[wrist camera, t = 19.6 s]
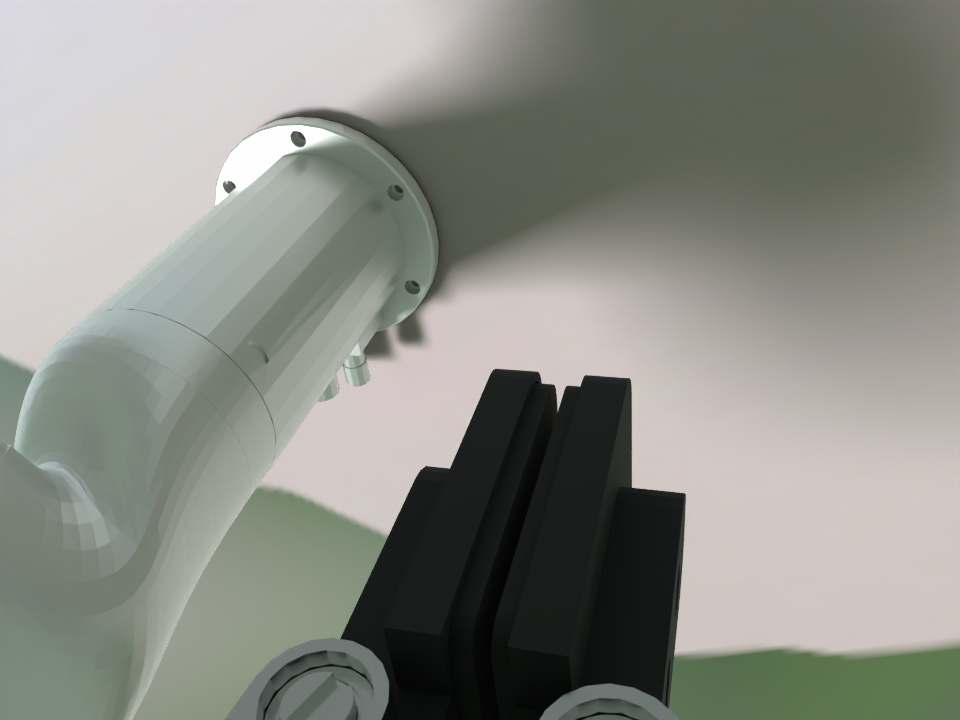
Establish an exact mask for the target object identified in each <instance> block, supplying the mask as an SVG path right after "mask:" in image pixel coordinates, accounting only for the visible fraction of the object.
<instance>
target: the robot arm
mask: <svg viewBox="0 0 960 720" xmlns="http://www.w3.org/2000/svg"><path fill="white" fill-rule="evenodd" d="M400 187H401V188H402V189H401V188H400ZM215 205H216V206H214V207H213V208H212V209H211V210H210V211H209V212H207V213H206V214H205V215H204V216H203V217H202V218H200V219H199V220H198V221H197V222H196V223H195V224H194V225H192V226H191V227H190V228H189V229H188V230H187V231H185V232H184V233H183V234H182V235H181V236H180V237H178V238H177V239H176V240H175V241H174V242H173V243H172V244H170V245H169V246H168V247H167V248H166V249H165V250H163V251H162V252H161V253H160V254H159V255H158V256H157V257H155V258H154V259H153V260H152V261H151V262H150V263H148V264H147V265H146V266H145V267H144V268H143V269H141V270H140V271H139V272H138V273H137V274H136V275H135V276H133V277H132V278H131V279H130V280H129V281H128V282H126V283H125V284H124V285H123V286H122V287H121V288H119V289H118V290H117V291H116V292H115V293H114V294H113V295H111V296H110V297H109V298H108V299H107V300H106V301H104V302H103V303H102V304H101V305H100V306H99V307H98V308H96V309H95V310H94V311H93V312H92V313H91V314H89V315H88V316H87V317H86V318H85V319H83V320H82V321H81V322H80V323H78V324H77V325H76V326H75V327H74V328H73V329H72V330H70V331H69V332H68V333H67V334H66V335H65V336H64V337H63V338H62V339H61V340H60V341H58V342H57V343H56V345H55V346H54V347H53V348H52V349H51V350H50V351H49V352H48V354H47V355H46V357H45V358H44V359H43V361H42V362H41V364H40V365H39V367H38V369H37V370H36V372H35V374H34V376H33V379H32V381H31V383H30V385H29V387H28V389H27V392H26V395H25V398H24V402H23V405H22V409H21V412H20V417H19V421H18V426H17V432H16V438H15V444H14V448H13V447H12V446H11V445H7V444H5V443H4V442H3V441H2V440H1V439H0V720H132V719H133V717H134V715H135V713H136V712H137V710H138V708H139V706H140V704H141V702H142V700H143V698H144V696H145V694H146V692H147V690H148V688H149V686H150V684H151V682H152V679H153V677H154V675H155V673H156V670H157V668H158V666H159V664H160V661H161V659H162V657H163V654H164V652H165V650H166V648H167V645H168V643H169V641H170V638H171V636H172V634H173V632H174V629H175V627H176V624H177V623H178V620H179V618H180V616H181V614H182V612H183V610H184V607H185V605H186V603H187V601H188V599H189V597H190V595H191V593H192V591H193V589H194V587H195V585H196V584H197V582H198V580H199V578H200V576H201V574H202V572H203V570H204V569H205V567H206V565H207V563H208V562H209V560H210V559H211V557H212V555H213V554H214V552H215V550H216V549H217V547H218V545H219V544H220V542H221V540H222V538H223V537H224V535H225V534H226V532H227V530H228V529H229V527H230V526H231V525H232V523H233V522H234V520H235V519H236V517H237V516H238V514H239V512H240V511H241V510H242V508H243V507H244V505H245V504H246V502H247V500H248V499H249V498H250V496H251V495H252V493H253V492H254V490H255V489H256V488H257V486H258V485H259V483H260V482H261V480H262V479H263V477H264V476H265V475H266V473H267V472H268V471H269V469H270V468H271V467H272V465H273V464H274V462H275V461H276V459H277V458H278V457H279V455H280V454H281V452H282V451H283V449H284V448H285V447H286V445H287V444H288V442H289V441H290V439H291V438H292V436H293V435H294V434H295V432H296V431H297V429H298V428H299V426H300V425H301V424H302V422H303V421H304V419H305V418H306V416H307V415H308V414H309V412H310V411H311V409H312V408H313V406H314V405H315V403H316V402H321V401H327V400H329V399H331V398H333V397H335V396H336V395H337V394H338V392H339V389H340V388H339V384H338V380H337V376H336V373H337V372H338V371H339V369H340V368H341V366H342V365H343V369H344V373H345V377H346V381H347V383H348V384H349V385H351V386H361V385H364V384H366V383H367V382H368V381H369V380H370V372H369V368H368V363H367V359H366V358H365V355H364V351H363V350H364V349H365V347H366V346H367V344H368V343H369V341H370V340H371V338H372V337H373V335H374V334H375V332H378V331H382V330H386V329H388V328H390V327H392V326H394V325H396V324H398V323H400V322H402V321H403V320H404V319H405V318H406V317H408V316H409V315H410V314H411V313H412V312H414V311H415V309H416V308H417V307H418V305H419V304H420V302H421V301H422V300H423V298H424V297H425V295H426V293H427V292H428V290H429V288H430V286H431V284H432V283H433V280H434V276H435V273H436V269H437V266H438V253H439V242H438V236H437V229H436V224H435V221H434V218H433V215H432V212H431V209H430V207H429V204H428V202H427V200H426V198H425V196H424V195H423V193H422V191H421V189H420V187H419V186H418V184H417V182H416V181H415V180H414V179H413V177H412V176H411V175H410V173H409V172H408V171H407V170H406V168H405V167H404V166H403V165H402V164H401V163H400V162H399V161H398V160H397V159H396V158H395V157H394V156H393V155H392V154H391V153H389V152H388V151H387V150H386V149H385V148H384V147H383V146H381V145H380V144H378V143H377V142H375V141H374V140H372V139H371V138H369V137H368V136H366V135H365V134H363V133H361V132H359V131H356V130H354V129H352V128H350V127H347V126H345V125H343V124H340V123H336V122H332V121H329V120H325V119H321V118H309V117H293V118H287V119H280V120H276V121H273V122H271V123H269V124H266V125H264V126H261V127H259V128H258V129H256V130H255V131H254V132H252V133H251V134H249V135H248V136H247V137H245V138H244V139H243V140H242V141H241V142H240V143H239V144H238V145H237V146H236V147H235V148H234V149H233V150H232V151H231V152H230V154H229V155H228V157H227V159H226V160H225V162H224V164H223V165H222V167H221V170H220V173H219V176H218V179H217V185H216V199H215ZM685 502H686V494H685V493H676V492H666V491H657V490H647V489H638V488H632V392H631V380H630V378H616V377H602V376H588V375H585V376H584V378H583V381H582V384H581V387H577V386H567V387H566V388H565V391H564V394H563V397H562V401H561V404H560V407H559V410H558V412H557V395H556V388H555V386H554V385H551V384H542V383H541V377H540V374H539V373H538V372H533V371H519V370H505V369H495V370H493V371H492V373H491V375H490V377H489V379H488V381H487V384H486V386H485V388H484V391H483V393H482V395H481V398H480V400H479V402H478V405H477V407H476V410H475V412H474V414H473V417H472V419H471V421H470V424H469V426H468V428H467V431H466V433H465V435H464V438H463V440H462V442H461V445H460V447H459V449H458V452H457V454H456V456H455V459H454V461H453V463H452V466H451V468H450V469H448V468H438V467H429V466H426V467H424V468H423V469H422V470H420V472H419V474H418V475H417V477H416V479H415V481H414V483H413V485H412V487H411V489H410V491H409V493H408V496H407V498H406V500H405V502H404V504H403V506H402V508H401V511H400V513H399V515H398V517H397V519H396V521H395V523H394V525H393V528H392V530H391V532H390V534H389V536H388V538H387V540H386V543H385V545H384V547H383V549H382V551H381V553H380V555H379V558H378V560H377V562H376V564H375V566H374V569H373V570H372V572H371V575H370V577H369V579H368V581H367V583H366V585H365V587H364V590H363V592H362V594H361V596H360V598H359V600H358V603H357V605H356V607H355V609H354V611H353V613H352V615H351V617H350V619H349V622H348V624H347V626H346V628H345V630H344V632H343V634H342V637H341V639H336V638H328V639H320V640H311V641H308V642H305V643H303V644H300V645H298V646H295V647H292V648H289V649H288V650H286V651H285V652H283V653H282V654H280V655H279V656H277V657H276V658H274V659H273V660H271V661H270V662H269V663H268V664H267V665H266V666H265V668H264V669H263V670H262V671H261V672H260V673H259V674H258V675H257V676H256V677H255V678H254V680H253V681H252V683H251V684H250V685H249V686H248V688H247V689H246V691H245V692H244V694H243V695H242V696H241V698H240V699H239V700H238V702H237V703H236V705H235V706H234V707H233V709H232V710H231V712H230V713H229V714H228V716H227V717H226V719H225V720H678V719H677V717H676V715H675V714H674V713H673V712H671V711H670V710H669V700H670V690H671V680H672V669H673V660H674V650H675V640H676V630H677V620H678V610H679V599H680V588H681V575H682V562H683V546H684V526H685Z"/></svg>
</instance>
